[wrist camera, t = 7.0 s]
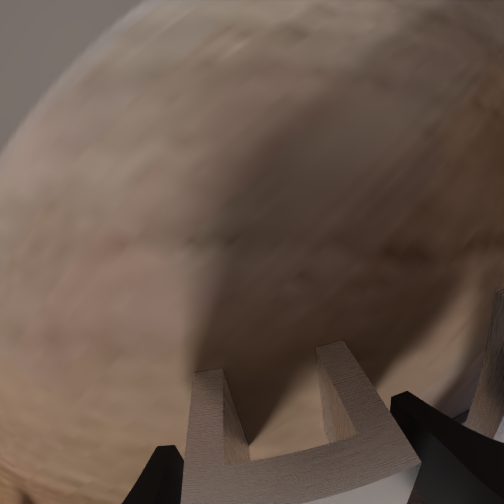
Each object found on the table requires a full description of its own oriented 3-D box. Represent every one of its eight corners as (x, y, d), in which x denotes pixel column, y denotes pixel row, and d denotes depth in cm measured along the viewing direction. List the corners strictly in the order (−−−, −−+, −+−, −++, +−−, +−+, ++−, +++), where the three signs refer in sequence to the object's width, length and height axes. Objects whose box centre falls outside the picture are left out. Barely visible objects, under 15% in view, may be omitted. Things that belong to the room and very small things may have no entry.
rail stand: (499, 236, 10) (612, 280, 4) (448, 468, 14) (485, 525, 8) (371, 273, 10) (499, 375, 4) (363, 505, 14) (390, 575, 8)
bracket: (342, 339, 10) (421, 462, 5) (346, 423, 11) (395, 529, 6) (194, 372, 10) (179, 517, 5) (225, 450, 11) (231, 567, 6)
